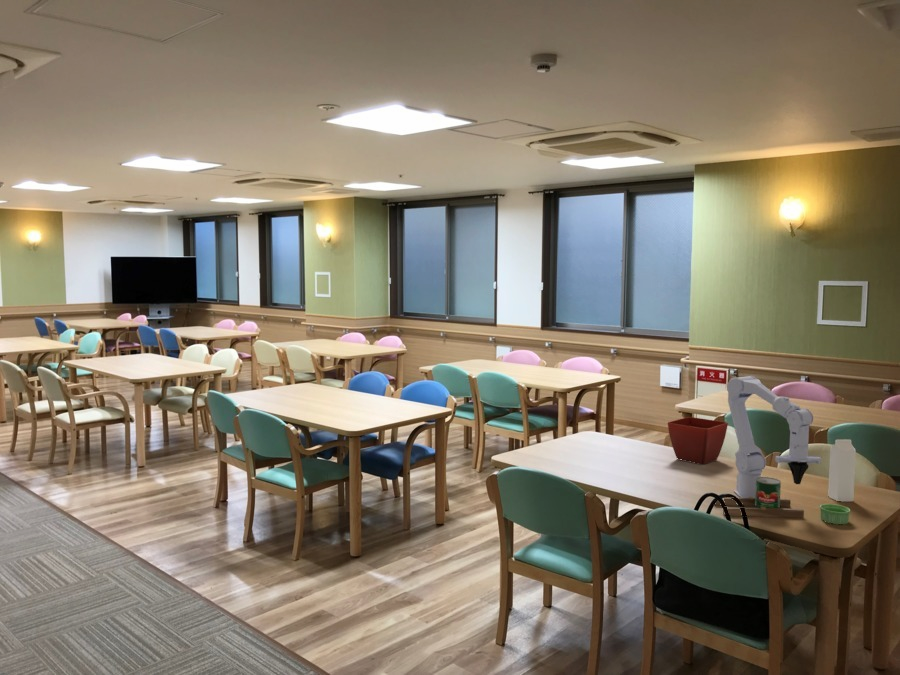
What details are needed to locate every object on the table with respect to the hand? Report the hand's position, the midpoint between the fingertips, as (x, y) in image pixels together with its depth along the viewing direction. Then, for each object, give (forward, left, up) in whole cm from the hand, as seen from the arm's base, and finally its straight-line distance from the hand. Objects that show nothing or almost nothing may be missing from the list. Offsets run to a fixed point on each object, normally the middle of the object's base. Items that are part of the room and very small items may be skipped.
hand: (797, 483), depth 247 cm
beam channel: (0, -13, -10) cm, 16 cm away
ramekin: (+9, +9, -10) cm, 16 cm away
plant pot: (-68, -15, -10) cm, 71 cm away
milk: (-15, +22, -10) cm, 29 cm away
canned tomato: (+1, -10, -10) cm, 14 cm away
